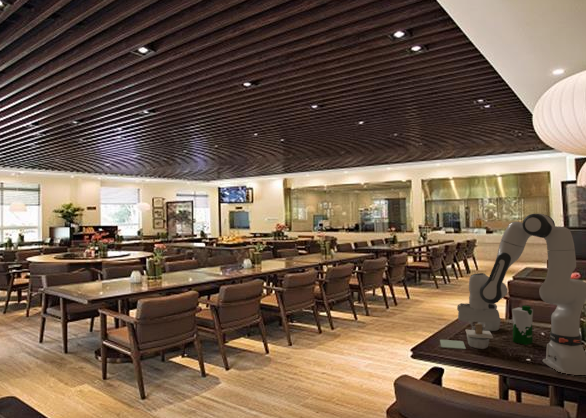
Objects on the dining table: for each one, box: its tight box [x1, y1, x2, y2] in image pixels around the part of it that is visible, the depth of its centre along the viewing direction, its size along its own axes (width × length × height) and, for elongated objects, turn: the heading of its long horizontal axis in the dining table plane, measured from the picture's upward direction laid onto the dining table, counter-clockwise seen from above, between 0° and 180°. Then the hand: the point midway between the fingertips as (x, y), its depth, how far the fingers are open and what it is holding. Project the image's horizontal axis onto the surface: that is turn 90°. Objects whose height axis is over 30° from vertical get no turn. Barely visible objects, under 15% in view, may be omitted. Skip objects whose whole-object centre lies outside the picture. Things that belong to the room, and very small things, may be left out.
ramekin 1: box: [477, 318, 502, 332], centre depth 256 cm, size 13×13×7 cm
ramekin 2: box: [466, 335, 491, 350], centre depth 223 cm, size 11×11×5 cm
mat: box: [439, 339, 467, 350], centre depth 225 cm, size 13×12×1 cm
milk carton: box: [511, 305, 534, 346], centre depth 229 cm, size 9×9×20 cm
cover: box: [465, 323, 494, 339], centre depth 223 cm, size 12×12×5 cm
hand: (478, 330), depth 222 cm, fingers closed on cover, 4 cm apart
